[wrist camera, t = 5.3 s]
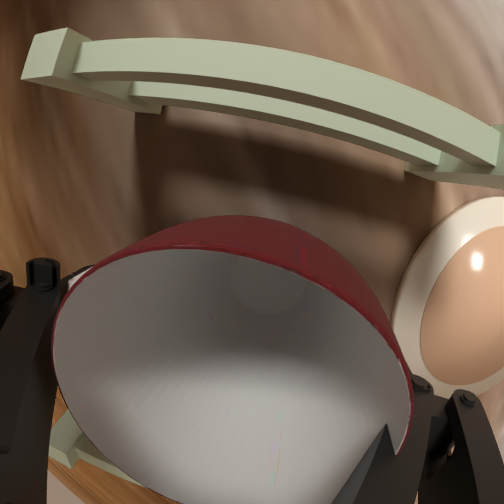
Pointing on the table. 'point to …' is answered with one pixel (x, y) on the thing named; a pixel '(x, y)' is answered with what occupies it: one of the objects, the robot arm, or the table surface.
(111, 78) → the cradle
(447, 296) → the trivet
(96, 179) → the table surface
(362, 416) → the mug
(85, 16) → the table surface
